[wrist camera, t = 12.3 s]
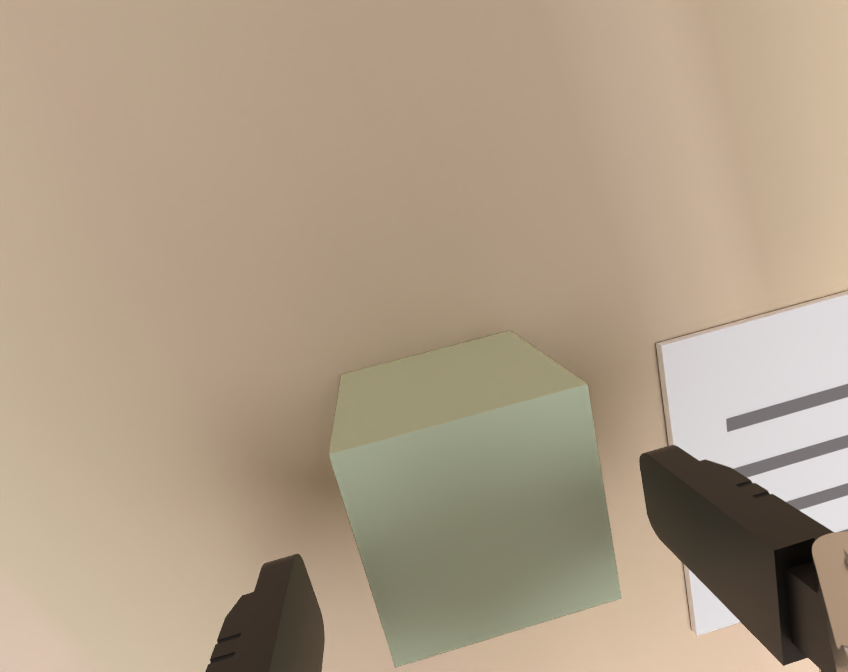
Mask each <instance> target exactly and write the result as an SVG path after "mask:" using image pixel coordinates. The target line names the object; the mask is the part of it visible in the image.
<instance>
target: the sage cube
mask: <svg viewBox="0 0 848 672" xmlns="http://www.w3.org/2000/svg"><path fill="white" fill-rule="evenodd" d="M329 458H330V461H331V464H332V467H333V471H334V474H335V477H336V480H337V483H338V487H339V490H340V493H341V496H342V499H343V502H344V506H345V509H346V512H347V515H348V518H349V522H350V525H351V528H352V531H353V534H354V538H355V541H356V544H357V547H358V550H359V553H360V557H361V560H362V563H363V566H364V569H365V573H366V576H367V579H368V582H369V585H370V589H371V592H372V595H373V598H374V601H375V604H376V608H377V611H378V614H379V617H380V620H381V624H382V627H383V630H384V633H385V636H386V640H387V643H388V646H389V649H390V652H391V655H392V659H393V662H394V665H395V668H396V667H399V666H402V665H405V664H409V663H412V662H415V661H418V660H422V659H425V658H428V657H431V656H435V655H438V654H441V653H445V652H448V651H451V650H454V649H458V648H461V647H464V646H467V645H471V644H474V643H477V642H480V641H484V640H487V639H490V638H494V637H497V636H500V635H503V634H507V633H510V632H513V631H516V630H520V629H523V628H526V627H529V626H533V625H536V624H539V623H543V622H546V621H549V620H552V619H556V618H559V617H562V616H565V615H569V614H572V613H575V612H578V611H582V610H585V609H588V608H592V607H595V606H598V605H601V604H605V603H608V602H611V601H614V600H618V599H621V592H620V585H619V579H618V573H617V567H616V560H615V554H614V548H613V541H612V535H611V529H610V522H609V516H608V510H607V503H606V497H605V491H604V484H603V478H602V472H601V465H600V459H599V453H598V446H597V440H596V434H595V427H594V421H593V415H592V408H591V402H590V396H589V390H588V384H587V383H586V382H584V381H583V380H581V379H580V378H578V377H577V376H575V375H574V374H572V373H571V372H570V371H568V370H567V369H565V368H564V367H562V366H561V365H559V364H558V363H557V362H555V361H554V360H552V359H551V358H549V357H548V356H546V355H545V354H543V353H542V352H541V351H539V350H538V349H536V348H535V347H533V346H532V345H530V344H529V343H528V342H526V341H525V340H523V339H522V338H520V337H519V336H517V335H516V334H514V333H513V332H512V331H510V330H509V331H505V332H502V333H498V334H494V335H490V336H486V337H482V338H479V339H475V340H471V341H467V342H463V343H460V344H456V345H452V346H448V347H444V348H440V349H437V350H433V351H429V352H425V353H421V354H417V355H414V356H410V357H406V358H402V359H398V360H395V361H391V362H387V363H383V364H379V365H375V366H372V367H368V368H364V369H360V370H356V371H352V372H349V373H345V374H341V379H340V385H339V392H338V398H337V404H336V411H335V417H334V423H333V430H332V436H331V442H330V448H329Z"/></svg>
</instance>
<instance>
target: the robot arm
mask: <svg viewBox="0 0 848 672" xmlns="http://www.w3.org/2000/svg"><path fill="white" fill-rule="evenodd" d="M640 470H641V477H642V483H643V490H644V496H645V503H646V510H647V515H648V518H649V521H650V523H651V526H652V528H653V530H654V531H655V533H656V535H657V536H658V537H659V539H660V540H661V541H662V542H663V543H664V544H665V545H666V546H667V547H668V548H669V549H670V550H671V551H672V552H673V553H674V554H675V555H676V556H677V557H678V558H679V559H680V560H681V562H682V563H683V564H684V565H685V566H686V567H687V568H688V569H689V570H690V571H691V572H692V573H693V574H694V575H695V576H696V577H697V578H698V579H699V580H700V581H701V582H702V583H703V584H704V585H705V586H706V587H707V588H708V589H709V590H710V591H711V592H712V593H713V594H714V595H715V596H716V597H717V598H718V599H719V600H720V601H721V602H722V603H723V604H724V605H725V606H726V607H727V608H728V610H729V611H730V612H731V613H732V614H733V615H734V616H735V617H736V618H737V619H738V620H739V621H740V622H741V623H742V624H743V625H744V626H745V627H746V628H747V629H748V630H749V631H750V632H751V633H752V634H753V635H754V636H755V637H756V638H757V639H758V640H759V641H760V642H761V643H762V644H763V645H764V646H765V647H766V648H767V649H768V650H769V651H770V652H771V653H772V654H773V655H774V656H775V657H776V659H777V660H778V661H779V662H780V663H781V664H782V665H783V666H784V665H787V664H790V663H793V662H796V661H799V660H802V659H805V658H809V659H810V660H811V661H812V662H813V663H814V664H815V665H816V666H818V667H819V672H848V532H833V531H831V530H830V529H828V528H827V527H825V526H823V525H822V524H820V523H819V522H817V521H815V520H814V519H812V518H811V517H809V516H807V515H806V514H804V513H803V512H801V511H799V510H798V509H796V508H795V507H793V506H791V505H790V504H788V503H787V502H785V501H783V500H782V499H780V498H779V497H777V496H776V495H774V494H769V492H768V490H766V489H764V488H763V487H761V486H760V485H758V484H756V483H752V481H751V480H750V479H748V478H747V477H745V476H744V475H742V474H740V473H739V472H737V471H736V470H734V469H732V468H731V467H728V466H725V465H721V464H718V463H715V462H712V461H709V460H706V459H705V460H701V461H699V460H697V459H696V458H694V457H693V456H691V455H690V454H688V453H687V452H685V451H684V450H682V449H681V448H679V447H678V446H675V445H671V446H667V447H664V448H660V449H657V450H653V451H650V452H647V453H643V454H642V455H641V456H640ZM217 641H218V644H216V645H215V648H214V650H213V653H212V656H211V658H210V661H211V663H210V664H208V667H207V669H206V672H321V671H322V661H323V651H324V625H323V619H322V614H321V611H320V608H319V605H318V602H317V599H316V596H315V593H314V590H313V588H312V585H311V582H310V579H309V576H308V573H307V570H306V568H305V565H304V562H303V560H302V558H301V556H300V555H299V554H295V555H292V556H288V557H285V558H281V559H278V560H275V561H271V562H268V563H265V564H263V566H262V568H261V571H260V575H259V578H258V581H257V584H256V587H255V591H254V592H252V593H249V594H246V595H242V597H241V598H240V599H239V600H238V602H237V603H236V604H235V606H234V607H233V608H232V610H231V611H230V612H229V614H228V615H227V616H226V618H225V620H224V623H223V626H222V628H221V631H220V634H219V637H218V639H217Z"/></svg>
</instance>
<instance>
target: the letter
mask: <svg viewBox="0 0 848 672" xmlns="http://www.w3.org/2000/svg"><path fill="white" fill-rule="evenodd" d="M656 348H657V356H658V364H659V372H660V380H661V388H662V396H663V404H664V412H665V420H666V428H667V436H668V444H669V446H671V445H675V446H678V447H679V448H681V449H682V450H684V451H685V452H687V453H688V454H690V455H691V456H693V457H694V458H696V459H697V460H699V461H701V460H705V459H706V460H709V461H712V462H715V463H718V464H721V465H725V466H728V467H731V468H732V469H734V470H736V471H737V472H739V473H740V474H742V475H744V476H745V477H747V478H748V479H750V480H751V481H752V483H756V484H758V485H760V486H761V487H763V488H764V489H766V490H768V492H769V494H774V495H776V496H777V497H779V498H780V499H782V500H783V501H785V502H787V503H788V504H790V505H791V506H793V507H795V508H796V509H798V510H799V511H801V512H803V513H804V514H806V515H807V516H809V517H811V518H812V519H814V520H815V521H817V522H819V523H820V524H822V525H823V526H825V527H827V528H828V529H830V530H831V531H833V532H848V291H845V292H841V293H838V294H834V295H830V296H827V297H823V298H819V299H816V300H812V301H808V302H805V303H801V304H798V305H794V306H790V307H787V308H783V309H779V310H776V311H772V312H769V313H765V314H761V315H758V316H754V317H750V318H747V319H743V320H739V321H736V322H732V323H729V324H725V325H721V326H718V327H714V328H710V329H707V330H703V331H700V332H696V333H692V334H689V335H685V336H681V337H678V338H674V339H670V340H667V341H663V342H660V343H656ZM684 572H685V580H686V588H687V596H688V604H689V612H690V620H691V628H692V631H693V632H694V633H695V634H696V636H699V635H702V634H705V633H708V632H711V631H715V630H718V629H721V628H724V627H727V626H730V625H733V624H736V623H740V621H739V620H738V619H737V618H736V617H735V616H734V615H733V614H732V613H731V612H730V611H729V610H728V608H727V607H726V606H725V605H724V604H723V603H722V602H721V601H720V600H719V599H718V598H717V597H716V596H715V595H714V594H713V593H712V592H711V591H710V590H709V589H708V588H707V587H706V586H705V585H704V584H703V583H702V582H701V581H700V580H699V579H698V578H697V577H696V576H695V575H694V574H693V573H692V572H691V571H690V570H689V569H688V568H687V567H686V566H685V565H684Z"/></svg>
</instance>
